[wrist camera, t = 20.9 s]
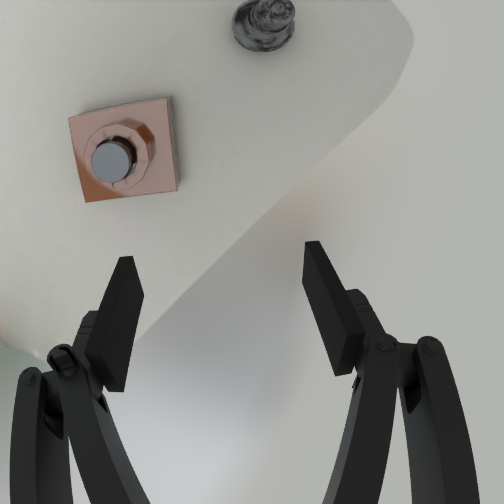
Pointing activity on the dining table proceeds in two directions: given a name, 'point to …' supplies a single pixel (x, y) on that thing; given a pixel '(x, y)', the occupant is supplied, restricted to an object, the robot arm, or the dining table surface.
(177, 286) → the dining table surface
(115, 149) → the button
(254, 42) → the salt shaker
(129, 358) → the robot arm
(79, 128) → the brown square base plate
